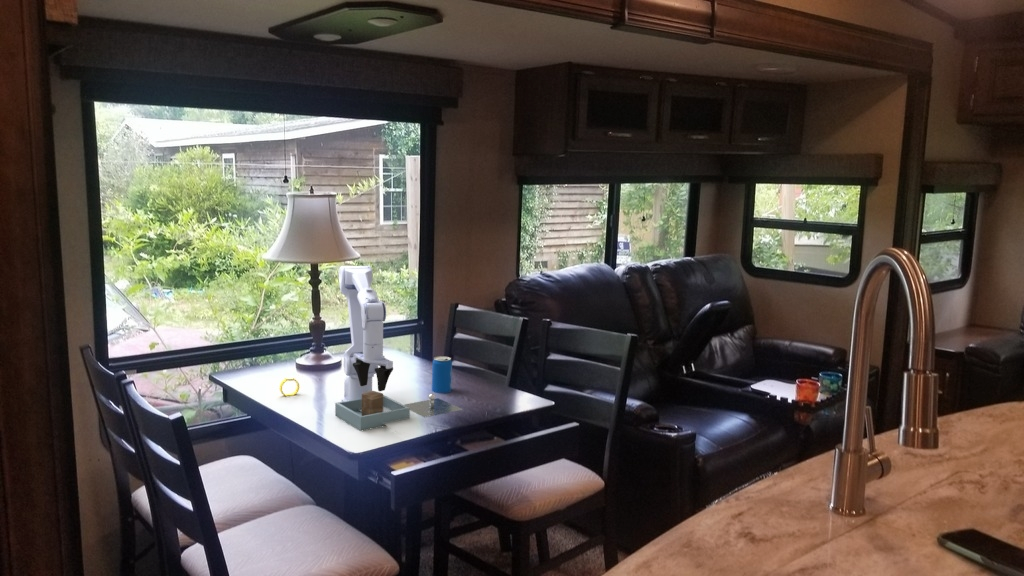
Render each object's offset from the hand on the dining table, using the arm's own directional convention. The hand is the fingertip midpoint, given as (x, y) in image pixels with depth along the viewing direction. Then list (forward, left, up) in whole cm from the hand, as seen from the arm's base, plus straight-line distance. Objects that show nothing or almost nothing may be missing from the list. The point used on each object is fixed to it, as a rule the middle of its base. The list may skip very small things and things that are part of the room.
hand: (372, 388), depth 218 cm
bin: (0, 0, -9) cm, 9 cm away
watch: (-35, -11, -10) cm, 38 cm away
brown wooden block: (0, 0, -9) cm, 9 cm away
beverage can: (-11, +32, -10) cm, 35 cm away
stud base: (+3, +19, -9) cm, 21 cm away
